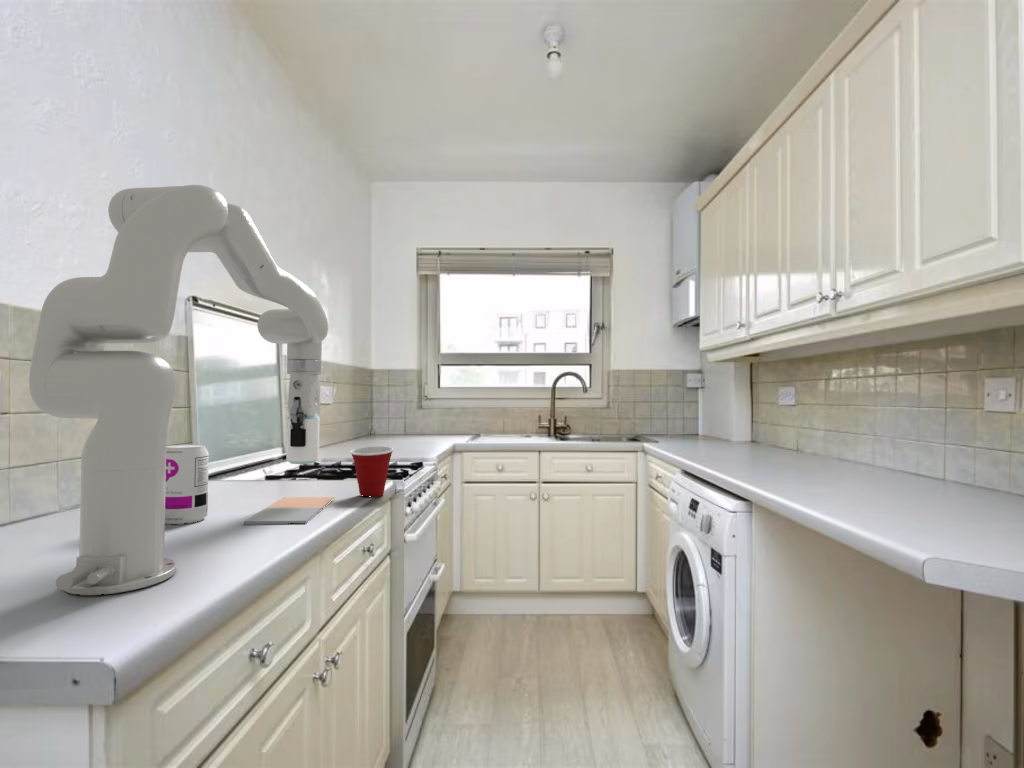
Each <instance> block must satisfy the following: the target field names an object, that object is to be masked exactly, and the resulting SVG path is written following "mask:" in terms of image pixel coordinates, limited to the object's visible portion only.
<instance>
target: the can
mask: <svg viewBox="0 0 1024 768" xmlns="http://www.w3.org/2000/svg"><path fill="white" fill-rule="evenodd" d="M298 415H303V414H298ZM290 419H291V416H290V415H289V414H288V416H287V418H286V455H285V456H286V457H285V458H286V459H285V460H286V462H287V463H288V462H289V464H292V465H308V464H314V463H316V462H317V461H318V460H319V459H320V428H321V427H320V419H321V418H320V415H317V411H315V415H314V416H312V417H308V416H307V414H306V418H305V426H304V429H306V445H305V446H304V447H291V446H290V432H291V428H290V425H291V420H290ZM301 420H302V419H301Z"/></svg>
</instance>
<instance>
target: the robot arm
mask: <svg viewBox="0 0 1024 768" xmlns="http://www.w3.org/2000/svg"><path fill="white" fill-rule="evenodd" d="M108 217H109V220H110V223H111V225H112V226H113V228H114V229H115V230H116V232H117V234H116V237H115V240H114V243H113V246H112V247H113V248H112V251H111V255H110V260H109V263H108V268H107V271H106V272H105V274H103V275H102V276H82V277H81V276H80V277H79V276H78V277H73V278H69V279H66V280H63V281H61V282H59V283H58V284H57V285H55V286H54V287H53V288H52V290H51V291H50V292H48V294H47V296H46V298H45V300H44V302H43V305H42V307H41V312H40V315H39V320H38V325H37V330H36V336H35V341H34V346H33V351H32V356H31V361H30V368H29V374H28V375H29V376H28V387H29V388H28V389H29V393H30V396H31V399H32V401H33V402H34V404H35V406H36V407H37V408H38V409H39V410H41V411H42V412H43V413H45V414H47V415H49V416H52V417H56V418H60V419H61V418H63V419H79V420H80V419H82V420H84V419H88V420H93V419H94V420H95V419H96V420H97V421H96V423H95V425H94V426H93V429H92V430H91V431H90V432H89V435H88V436H87V438H86V440H85V443H84V446H83V449H82V452H81V460H80V461H81V464H80V469H81V474H80V475H81V477H80V508H79V509H80V514H79V515H80V517H79V547H78V548H79V551H78V553H79V554H78V556H77V557H76V559H75V560H76V563H75V567H74V568H73V569H71V570H69V571H67V572H64V573H63V574H60V575H59V576H57V578H56V579H55V586H56V588H57V589H59V590H60V591H65V592H66V593H68V594H71V595H76V594H80V595H79V596H100V595H101V594H104V595H112V594H119V593H125V592H131V591H135V590H139V589H143V588H146V587H151V586H153V585H156V584H159V583H162V582H164V581H166V580H168V579H169V578H171V577H173V576H174V575H175V574H176V573H177V562H175V560H173V559H171V558H165V529H166V528H165V527H166V526H165V525H166V524H165V490H166V446H168V444H167V442H168V430H169V423H170V418H171V415H172V414H171V413H172V410H173V406H174V402H175V399H176V394H177V393H176V392H177V377H176V374H175V372H174V369H173V368H172V367H171V365H170V363H168V362H167V361H166V360H165V359H163V358H162V357H160V356H158V355H156V354H154V353H150V352H145V351H139V350H105V347H106V345H107V344H147V343H148V344H149V343H150V344H151V343H156V342H159V341H161V340H163V339H165V338H166V337H167V336H168V335H169V334H170V332H171V330H172V327H173V323H174V319H175V314H176V307H177V300H178V294H179V286H180V279H181V273H182V270H183V265H184V261H185V258H186V257H187V254H188V253H213V254H214V255H216V256H217V259H219V261H220V263H221V264H222V266H223V267H224V268H225V270H226V272H227V273H228V275H229V276H230V277H231V279H232V281H233V283H234V284H235V285H236V287H238V289H239V290H241V291H243V292H244V293H246V294H248V295H252V296H253V297H256V298H259V299H262V300H265V301H268V302H272V303H275V304H278V305H280V306H283V307H285V308H275V309H273V308H272V309H269V310H266V311H264V312H263V313H261V315H260V316H259V317H258V320H257V324H256V325H257V330H258V334H259V335H260V336H261V338H262V339H264V340H265V341H266V342H269V343H272V344H279V345H280V344H281V345H283V344H285V345H287V346H286V374H287V375H289V383H288V396H287V398H288V400H287V401H288V402H287V407H288V409H287V410H288V411H287V412H288V416H289V415H290V416H291V419H290V420H291V425H290V428H291V432H290V446H291V447H304V446H305V445H306V429H304V426H305V418H306V414H307V416H308V417H312V416H314V415H315V411H317V415H318V416H320V414H321V388H320V387H321V385H320V377H319V376H320V375H322V355H323V354H322V351H323V350H322V344H323V341H324V340H325V339H326V337H327V336H328V332H329V322H328V318H327V315H326V313H325V310H324V308H323V306H322V304H321V303H320V300H319V299H318V297H317V295H316V294H315V293H314V291H313V290H311V288H309V286H307V285H306V284H304V283H303V282H302V281H301V280H299V279H297V278H296V277H295V276H293V275H292V274H290V273H289V272H287V271H285V270H283V269H282V268H280V267H279V266H278V265H277V263H276V262H275V259H274V257H273V256H272V255H271V253H270V250H269V249H268V247H267V245H266V243H265V241H264V238H262V235H261V234H260V232H259V230H258V228H257V227H256V225H255V223H254V221H253V220H252V218H251V216H250V215H249V213H248V212H247V211H246V210H245V209H244V208H243V207H240V206H239V205H236V204H233V203H227V201H226V199H225V198H224V196H223V195H222V194H221V193H220V192H219V191H218V190H215V189H213V188H211V187H209V186H206V185H201V184H188V185H187V184H186V185H174V186H173V185H172V186H158V187H156V186H155V187H132V188H125V189H122V190H119V191H118V192H116V193H115V194H114V195H113V196H112V197H111V199H110V201H109V203H108ZM298 414H303V415H298ZM301 419H302V420H301ZM101 596H102V595H101Z"/></svg>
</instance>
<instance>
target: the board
mask: <svg viewBox="0 0 1024 768" xmlns="http://www.w3.org/2000/svg"><path fill="white" fill-rule="evenodd" d="M332 499H334V500H335V496H327V497H326V496H325V497H322V496H317V497H314V496H312V497H311V496H310V497H306V496H305V497H282V498H281V499H278V500H277V501H275V502H273V503H272V504H270V505H268V506H267V507H265V508H263V509H261V510H260V511H258V512H257V513H255V514H254V515H252V516H250V517H248V518H247V519H245V520H243V521H242V522H243V523H242V524H243V525H289V524H290V523H306V524H308V523H309V522H310V521H311V520H312V519H313V518H315V517H316V516H317V515H318V514H319V513H320V512H321V511H320V510H321V509H322V508H323V507H324V506H326V505H327V504H328V503H329V502H330V501H331V500H332ZM327 506H328V505H327ZM327 506H326V507H327ZM319 511H320V512H319ZM318 512H319V513H318ZM317 513H318V514H317ZM316 514H317V515H316ZM315 515H316V516H315ZM314 516H315V517H314ZM312 517H313V518H312ZM311 518H312V519H311ZM310 519H311V520H310ZM309 520H310V521H309ZM308 521H309V522H308ZM307 522H308V523H307ZM288 523H289V524H288ZM290 525H291V524H290Z"/></svg>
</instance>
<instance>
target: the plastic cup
mask: <svg viewBox="0 0 1024 768" xmlns="http://www.w3.org/2000/svg"><path fill="white" fill-rule="evenodd" d="M393 452H394V448H393V447H390V446H378V445H377V446H366V447H365V446H364V447H358V448H353V449H351V450H349V453H350V454H351V456H352V460H353V463H354V467H355V475H356V479H357V486H358V492H359V496H360V495H363V496H372V497H371V498H378V497H382V496H384V492H385V487H386V482H387V479H388V473H389V467H390V462H391V458H392V453H393Z"/></svg>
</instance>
